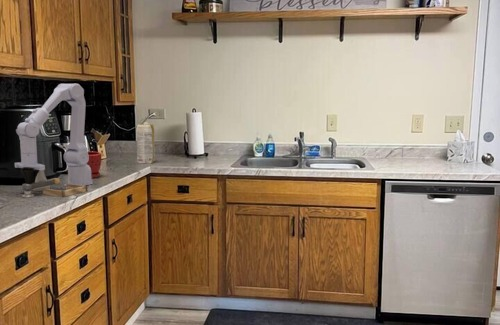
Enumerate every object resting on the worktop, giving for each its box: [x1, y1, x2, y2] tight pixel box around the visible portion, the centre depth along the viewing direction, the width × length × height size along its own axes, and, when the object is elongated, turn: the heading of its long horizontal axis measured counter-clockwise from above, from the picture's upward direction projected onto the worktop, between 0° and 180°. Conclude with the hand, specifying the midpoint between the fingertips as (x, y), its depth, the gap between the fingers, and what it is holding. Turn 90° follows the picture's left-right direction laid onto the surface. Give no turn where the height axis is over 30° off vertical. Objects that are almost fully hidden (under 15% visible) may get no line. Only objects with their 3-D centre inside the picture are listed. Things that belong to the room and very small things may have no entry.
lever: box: [21, 177, 61, 191], centre depth 185 cm, size 16×4×2 cm, turn 155°
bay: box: [42, 183, 89, 198], centre depth 187 cm, size 13×10×2 cm
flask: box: [31, 170, 51, 192], centre depth 192 cm, size 7×7×10 cm
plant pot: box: [87, 150, 102, 179], centre depth 223 cm, size 13×13×12 cm
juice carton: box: [136, 122, 156, 165], centre depth 272 cm, size 9×8×24 cm
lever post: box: [21, 190, 35, 198], centre depth 180 cm, size 4×4×3 cm
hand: (30, 186), depth 184 cm, fingers closed
